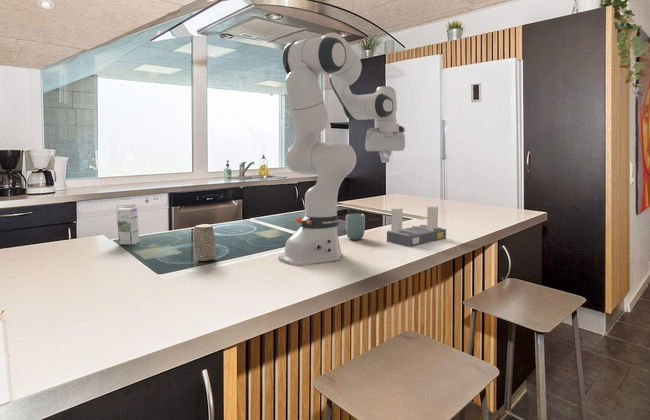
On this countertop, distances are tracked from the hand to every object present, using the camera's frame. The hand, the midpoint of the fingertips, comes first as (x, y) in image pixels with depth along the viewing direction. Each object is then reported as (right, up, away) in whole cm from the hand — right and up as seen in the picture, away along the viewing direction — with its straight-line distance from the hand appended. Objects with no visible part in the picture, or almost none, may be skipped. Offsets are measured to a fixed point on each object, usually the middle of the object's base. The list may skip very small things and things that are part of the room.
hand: (385, 162), depth 176 cm
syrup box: (-103, -33, -5) cm, 109 cm away
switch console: (+12, -32, -4) cm, 34 cm away
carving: (-65, -37, -32) cm, 81 cm away
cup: (-12, -32, 0) cm, 34 cm away
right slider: (+19, -27, -2) cm, 33 cm away
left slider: (+4, -28, -7) cm, 29 cm away
